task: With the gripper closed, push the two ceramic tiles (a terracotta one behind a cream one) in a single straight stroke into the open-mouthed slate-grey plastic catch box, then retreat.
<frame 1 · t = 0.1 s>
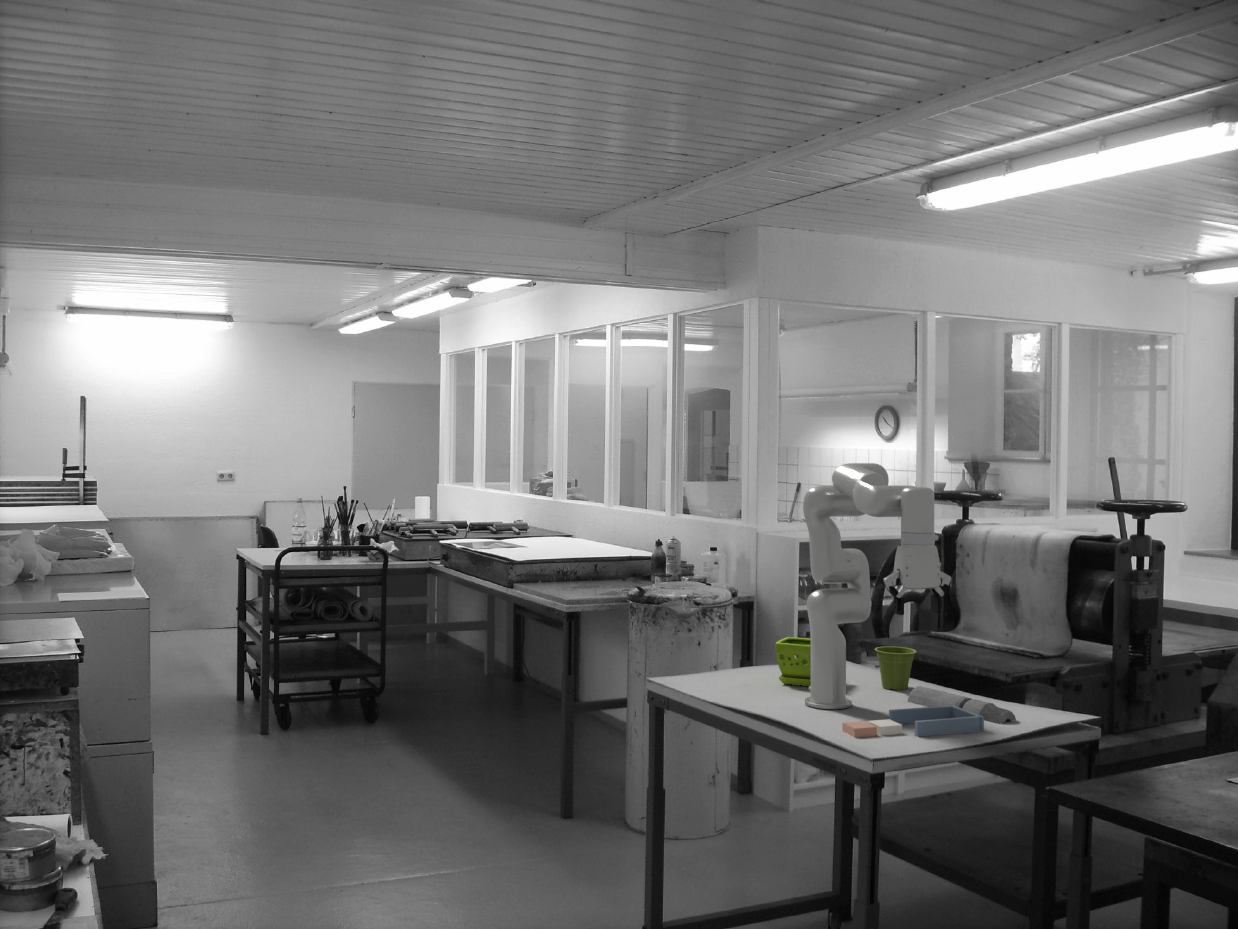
hand: (917, 613, 249), 31 cm above the table, fingers open, 9 cm apart
catch box: (934, 727, 267), on the table
flower pot: (802, 683, 320), on the table
plant pot: (895, 688, 313), on the table
cream tile: (884, 733, 263), on the table
terracotta tile: (859, 735, 261), on the table
mechanical component: (961, 713, 285), on the table
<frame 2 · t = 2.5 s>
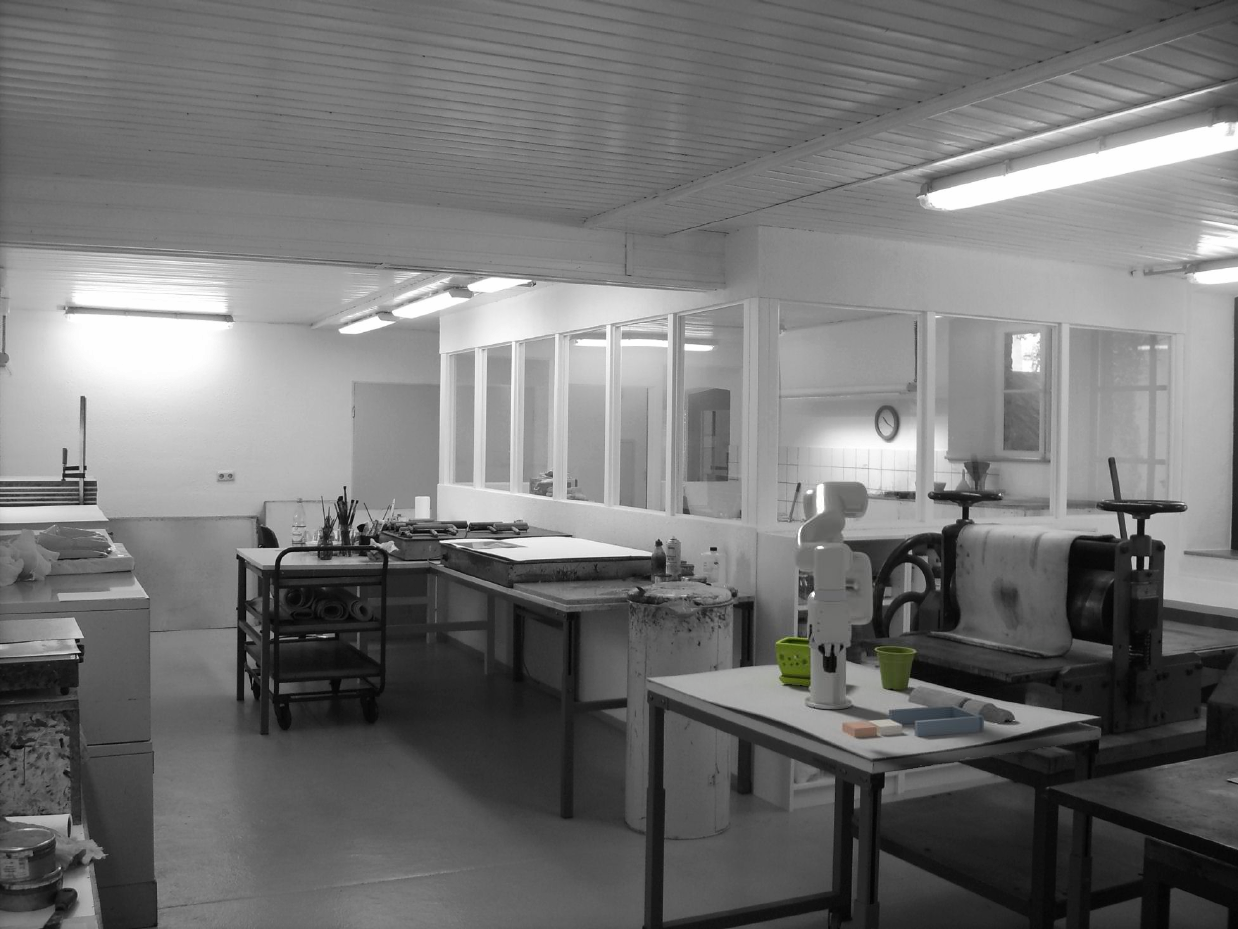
hand: (829, 672, 258), 16 cm above the table, fingers closed
nothing on the table moved.
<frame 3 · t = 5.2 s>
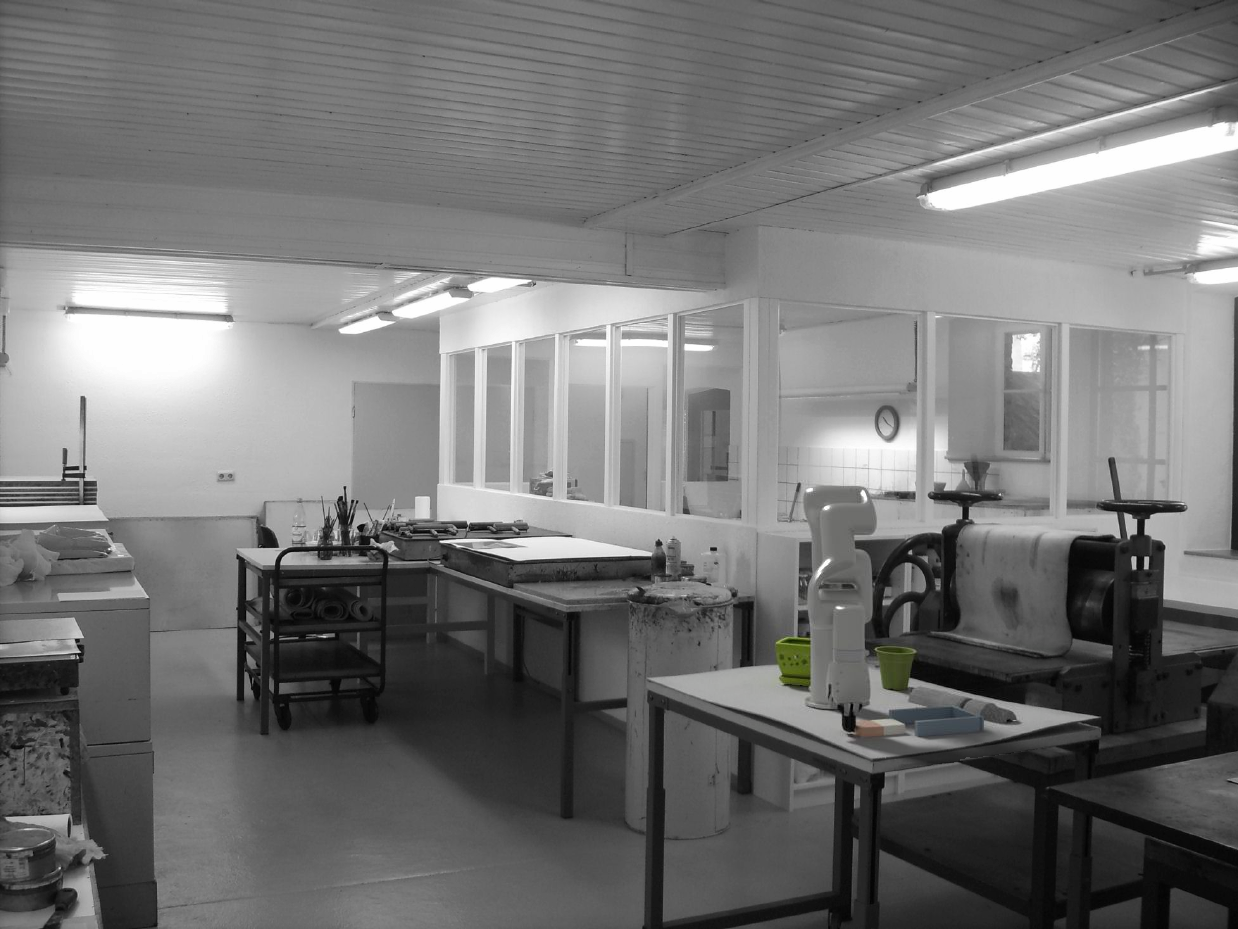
hand: (848, 731, 260), 1 cm above the table, fingers closed
cream tile: (887, 732, 263), on the table, touching terracotta tile
terracotta tile: (866, 734, 261), on the table, touching cream tile, gripper
everything else where it was.
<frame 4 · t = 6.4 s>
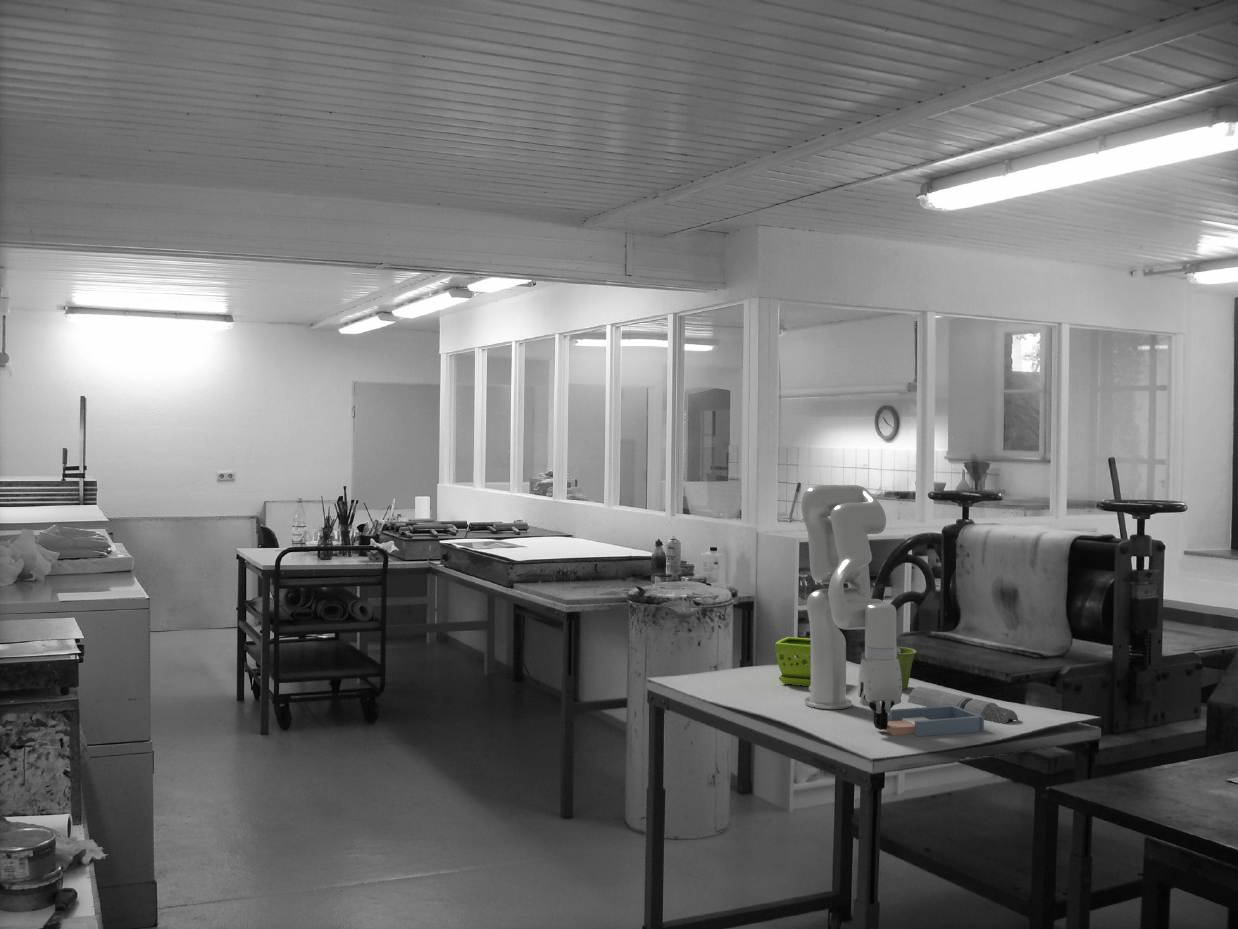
hand: (880, 728, 263), 1 cm above the table, fingers closed
cream tile: (919, 730, 265), on the table
terracotta tile: (897, 734, 263), on the table, touching gripper
everything else where it was.
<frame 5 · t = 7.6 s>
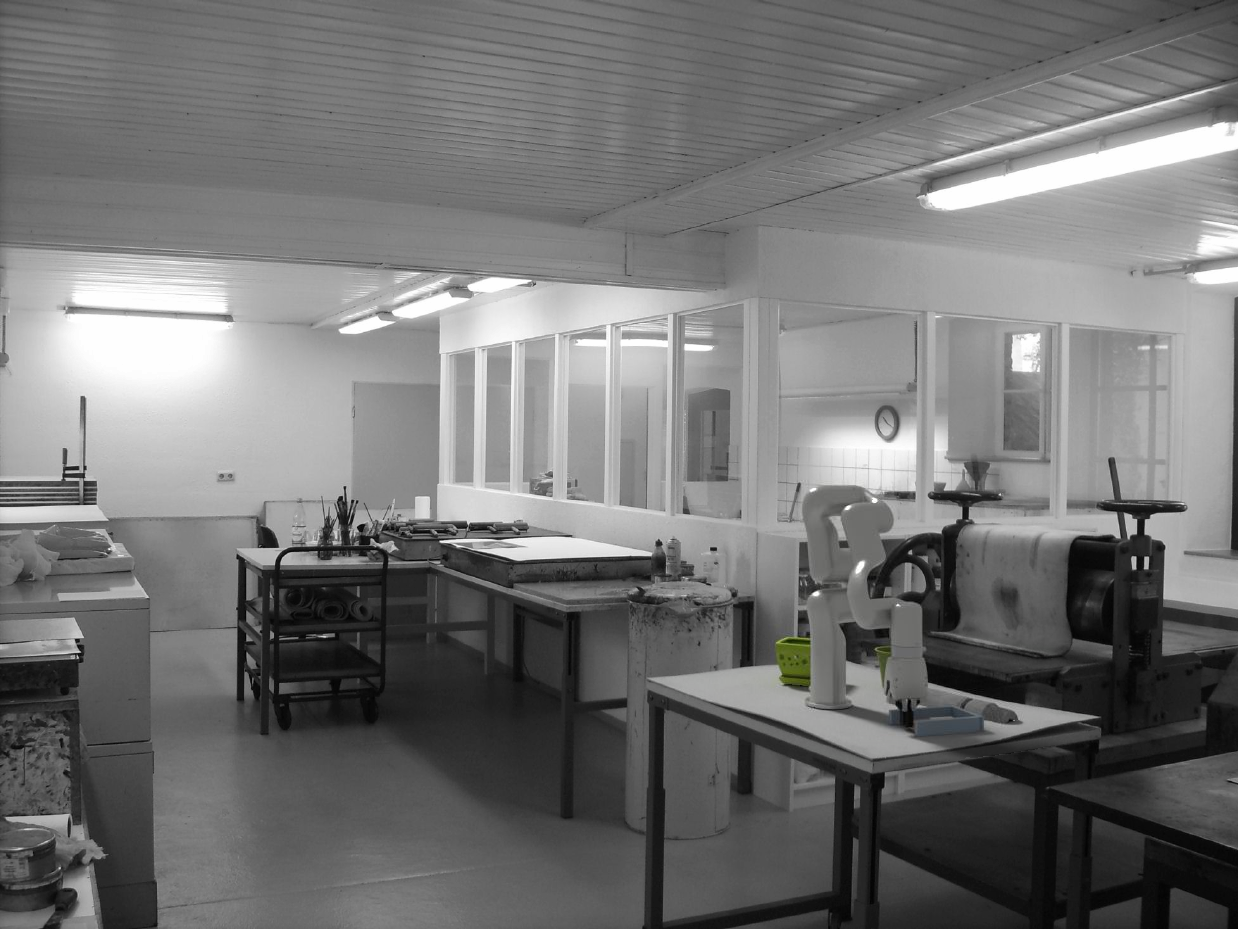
hand: (906, 726, 265), 1 cm above the table, fingers closed
cream tile: (946, 729, 266), on the table, touching terracotta tile
terracotta tile: (924, 732, 265), on the table, touching cream tile
everything else where it was.
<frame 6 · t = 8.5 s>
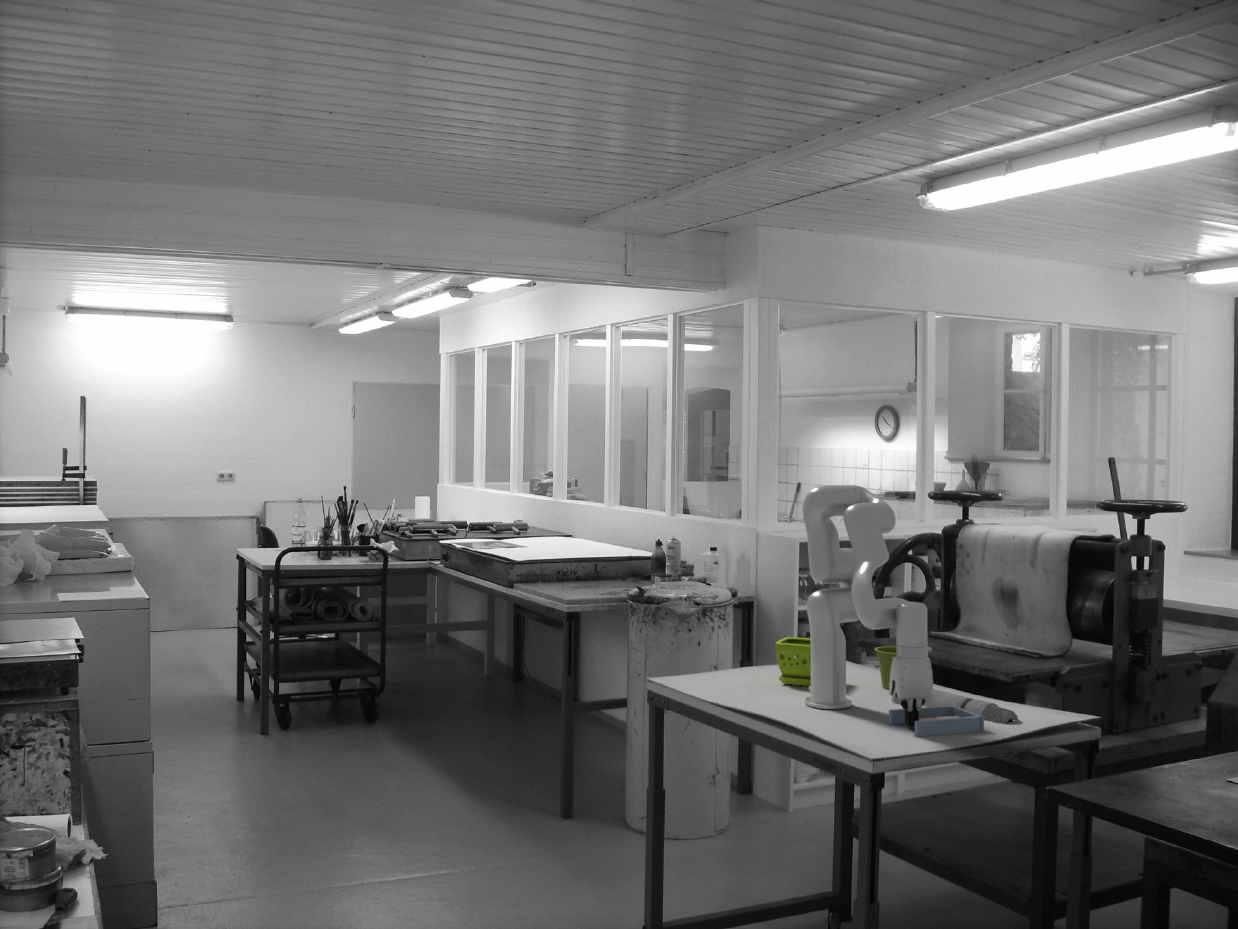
hand: (911, 726, 265), 1 cm above the table, fingers closed
cream tile: (952, 729, 267), on the table
terracotta tile: (931, 731, 265), on the table, touching gripper
everything else where it was.
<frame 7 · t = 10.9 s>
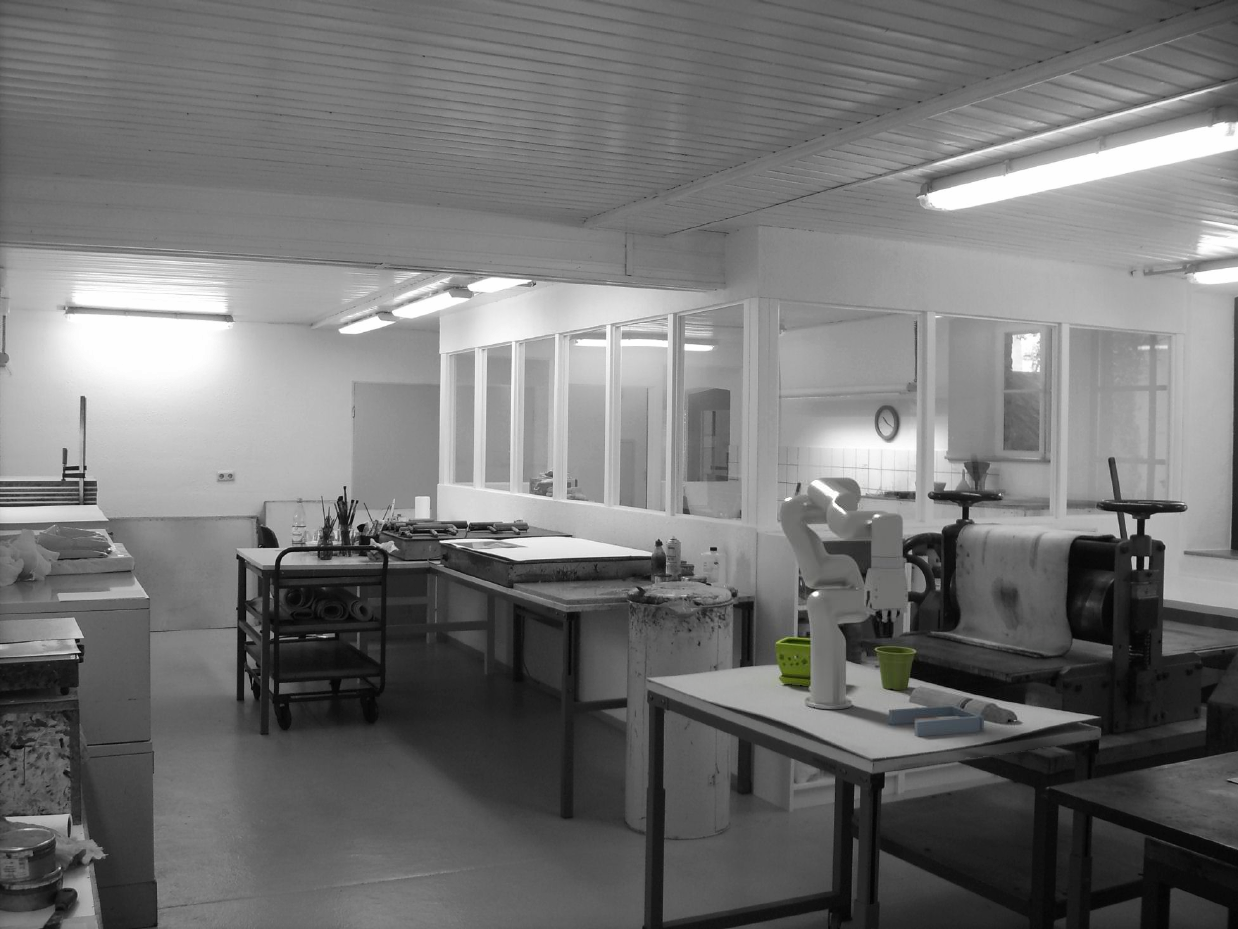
hand: (886, 637, 264), 23 cm above the table, fingers closed
terracotta tile: (931, 731, 265), on the table
everything else where it was.
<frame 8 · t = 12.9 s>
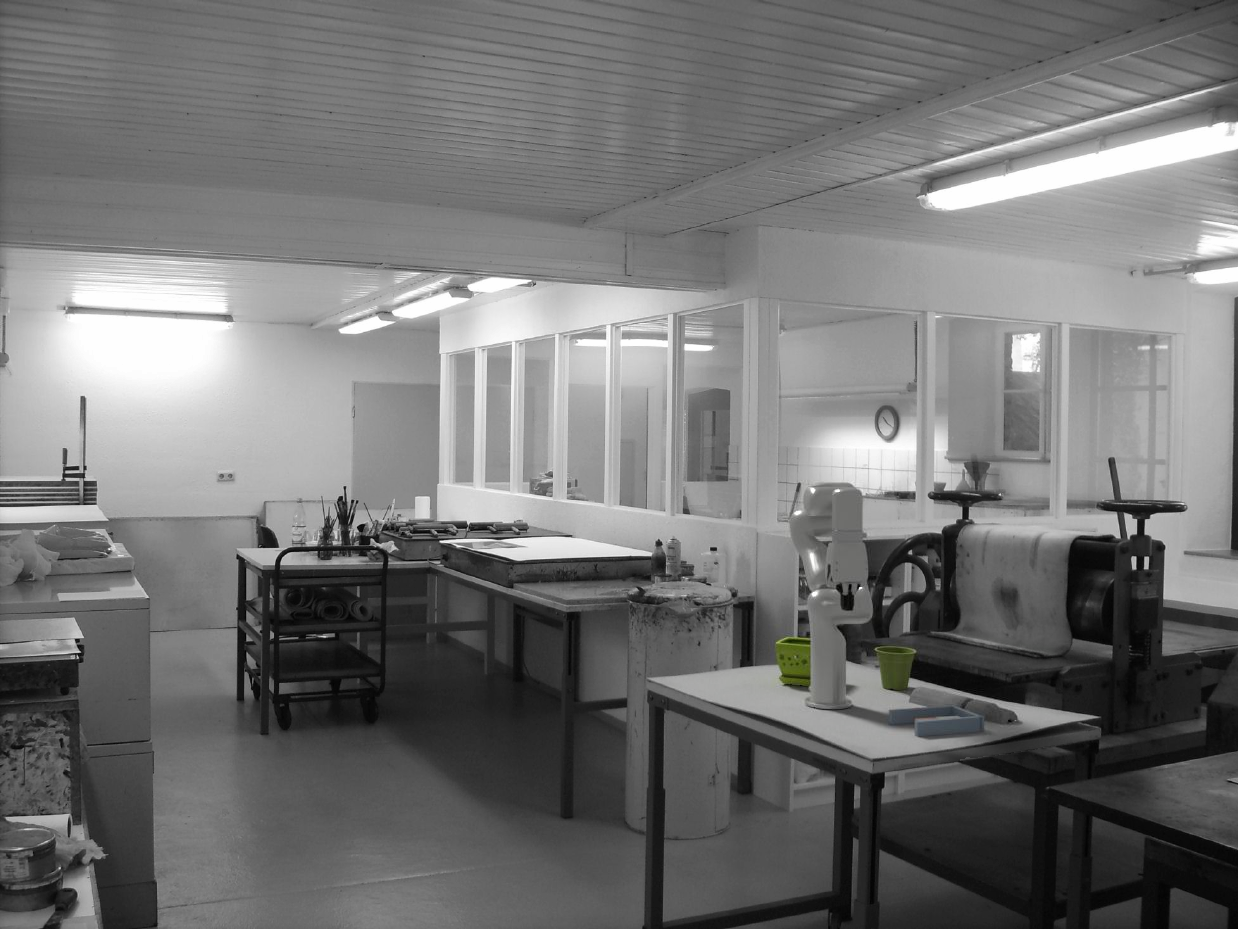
hand: (847, 610, 269), 29 cm above the table, fingers closed
nothing on the table moved.
at the end: terracotta tile inside the target area on the catch box (2.2 cm from its centre), point 0.0 cm above the catch box's base; cream tile inside the target area on the catch box (4.6 cm from its centre), point 0.0 cm above the catch box's base; terracotta tile moved 19.2 cm from its start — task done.
